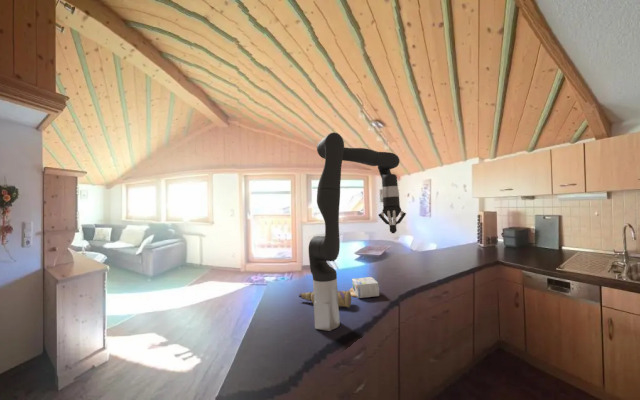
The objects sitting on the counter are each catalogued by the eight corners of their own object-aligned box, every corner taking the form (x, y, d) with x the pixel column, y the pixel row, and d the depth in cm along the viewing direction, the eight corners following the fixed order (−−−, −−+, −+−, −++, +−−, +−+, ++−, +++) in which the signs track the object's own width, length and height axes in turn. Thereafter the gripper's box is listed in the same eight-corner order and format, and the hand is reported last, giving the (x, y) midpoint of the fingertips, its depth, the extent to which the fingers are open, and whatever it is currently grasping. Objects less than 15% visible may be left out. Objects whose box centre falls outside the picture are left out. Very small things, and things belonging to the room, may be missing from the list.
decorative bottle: (352, 303, 108) (351, 289, 109) (348, 310, 102) (347, 294, 102) (303, 298, 119) (302, 285, 119) (295, 304, 112) (295, 290, 112)
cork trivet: (364, 297, 115) (364, 296, 115) (344, 295, 119) (344, 294, 119) (369, 290, 125) (369, 289, 126) (351, 288, 130) (351, 287, 130)
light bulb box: (372, 289, 125) (352, 291, 124) (371, 276, 125) (351, 278, 124) (379, 296, 114) (357, 298, 113) (378, 282, 114) (356, 284, 113)
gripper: (375, 197, 111) (377, 234, 110) (404, 194, 105) (407, 233, 104) (378, 197, 118) (380, 232, 117) (406, 195, 112) (409, 232, 111)
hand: (393, 233), depth 111 cm, fingers closed
